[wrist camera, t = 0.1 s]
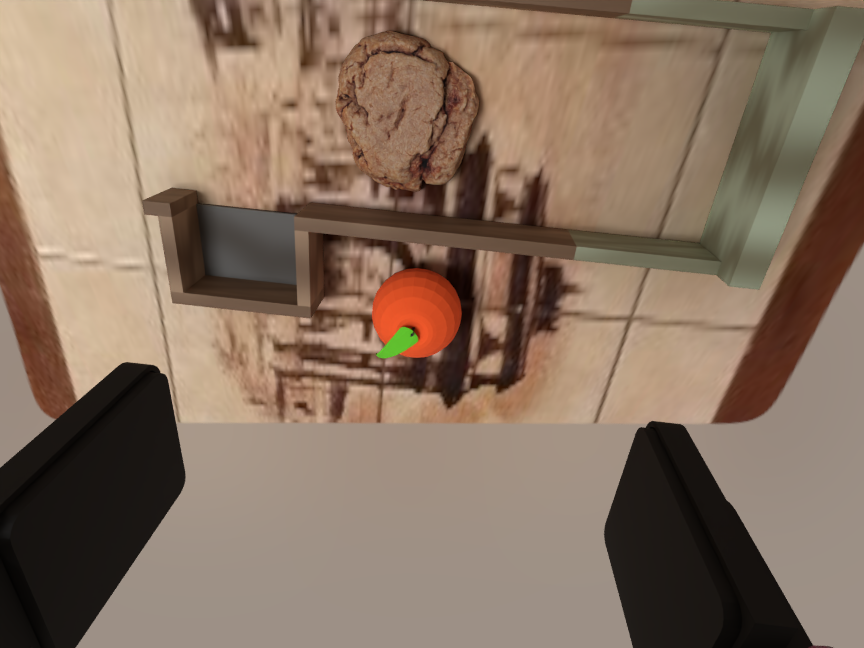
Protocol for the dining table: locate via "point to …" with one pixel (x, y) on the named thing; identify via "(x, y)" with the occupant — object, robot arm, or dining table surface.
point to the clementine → (416, 313)
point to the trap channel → (715, 254)
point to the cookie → (405, 110)
